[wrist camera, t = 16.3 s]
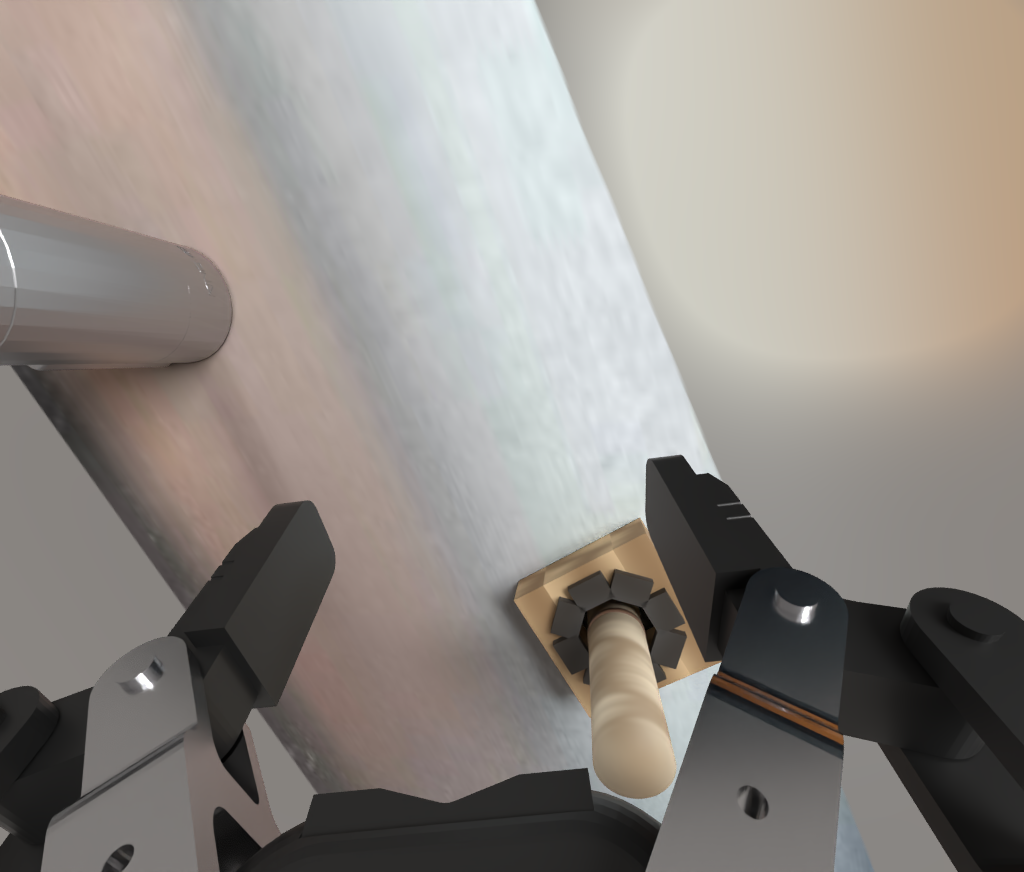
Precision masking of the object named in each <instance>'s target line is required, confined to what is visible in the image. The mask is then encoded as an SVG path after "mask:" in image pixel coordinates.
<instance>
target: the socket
mask: <svg viewBox="0 0 1024 872" xmlns="http://www.w3.org/2000/svg"><path fill="white" fill-rule="evenodd" d="M610 599H614V600H618V601H622V602H625V603H629V604H632V605H636V606H640V607H642V608H643V610H644V611H645V613H646V614H647V616H648V618H649V619H650V621H651V622H652V624H653V626H654V627H653V628H650V629H648V630H646V631H645V633H646V640H647V644H648V649H649V653H650V657H651V661H652V665H653V669H654V673H655V678H656V682H657V686H658V689H659V688H661V687H664V686H666V685H668V684H671V683H673V682H675V681H678V680H680V679H682V678H685V677H687V676H689V675H692V674H694V673H696V672H699V671H701V670H703V669H706V668H708V667H710V666H713V665H715V664H717V663H720V662H722V661H714V662H705V661H704V659H703V657H702V654H701V652H700V650H699V647H698V645H697V643H696V641H695V638H694V636H693V634H692V631H691V629H690V627H689V625H688V622H687V620H686V618H685V615H684V613H683V611H682V608H681V606H680V604H679V602H678V599H677V597H676V595H675V592H674V590H673V588H672V586H671V583H670V581H669V579H668V576H667V574H666V572H665V570H664V567H663V565H662V563H661V560H660V558H659V556H658V553H657V551H656V549H655V547H654V544H653V542H652V540H651V537H650V534H649V532H648V530H647V528H646V527H645V525H644V523H643V522H642V520H641V519H640V518H639V519H637V520H635V521H633V522H631V523H629V524H627V525H625V526H623V527H621V528H619V529H617V530H616V531H614V532H612V533H610V534H608V535H606V536H604V537H602V538H600V539H598V540H596V541H594V542H593V543H591V544H589V545H587V546H585V547H583V548H581V549H579V550H577V551H575V552H573V553H572V554H570V555H568V556H566V557H564V558H562V559H560V560H558V561H556V562H554V563H552V564H550V565H549V566H547V567H545V568H543V569H541V570H539V571H537V572H535V573H533V574H531V575H529V576H527V577H526V578H524V579H522V580H520V581H519V583H518V586H517V590H516V594H515V598H514V602H515V603H516V605H517V606H518V608H519V609H520V611H521V613H522V614H523V616H524V617H525V619H526V620H527V622H528V623H529V625H530V626H531V628H532V629H533V631H534V633H535V634H536V636H537V637H538V639H539V640H540V642H541V643H542V645H543V646H544V648H545V649H546V651H547V653H548V654H549V656H550V657H551V659H552V660H553V662H554V663H555V665H556V666H557V668H558V669H559V671H560V673H561V674H562V676H563V677H564V679H565V680H566V682H567V683H568V685H569V686H570V688H571V689H572V691H573V693H574V694H575V696H576V697H577V699H578V700H579V702H580V703H581V705H582V706H583V708H584V709H585V711H586V713H587V714H588V716H589V717H590V718H591V700H590V673H589V645H588V637H587V630H586V628H585V627H584V625H583V624H582V622H583V618H584V615H585V612H586V611H588V610H590V609H592V608H594V607H596V606H598V605H600V604H602V603H604V602H606V601H608V600H610Z"/></svg>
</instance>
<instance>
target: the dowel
mask: <svg viewBox="0 0 1024 872" xmlns="http://www.w3.org/2000/svg"><path fill="white" fill-rule="evenodd" d="M587 618H588V629H587V637H588V645H589V673H590V700H591V727H592V755H593V766H594V770H595V773H596V775H597V777H598V778H599V780H600V781H601V782H602V783H603V784H604V785H605V786H606V787H607V788H608V789H610V790H611V791H613V792H615V793H616V794H619V795H621V796H624V797H628V798H635V799H643V798H649V797H653V796H656V795H658V794H660V793H661V792H663V791H664V790H666V789H667V788H668V787H669V786H670V784H671V783H672V781H673V779H674V777H675V774H676V761H675V756H674V752H673V748H672V744H671V740H670V736H669V732H668V727H667V723H666V719H665V715H664V711H663V707H662V703H661V698H660V694H659V690H658V686H657V682H656V678H655V673H654V669H653V665H652V661H651V657H650V653H649V649H648V644H647V640H646V633H645V629H644V626H643V624H642V620H641V615H640V611H639V607H638V606H636V605H632V604H629V603H625V602H622V601H618V600H614V599H610V600H608V601H606V602H604V603H602V604H600V605H598V606H596V607H594V608H592V609H590V610H588V611H587Z"/></svg>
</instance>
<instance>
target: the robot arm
mask: <svg viewBox="0 0 1024 872" xmlns="http://www.w3.org/2000/svg"><path fill="white" fill-rule="evenodd" d="M231 318H232V305H231V298H230V293H229V290H228V287H227V284H226V282H225V280H224V278H223V277H222V275H221V273H220V271H219V270H218V269H217V268H216V266H215V265H214V264H213V263H212V262H211V261H210V260H209V259H208V258H207V257H205V256H204V255H203V254H201V253H200V252H198V251H196V250H194V249H192V248H189V247H185V246H182V245H178V244H175V243H171V242H168V241H164V240H161V239H157V238H154V237H150V236H147V235H143V234H140V233H137V232H133V231H130V230H126V229H123V228H119V227H115V226H112V225H108V224H105V223H101V222H98V221H94V220H90V219H87V218H83V217H80V216H76V215H72V214H69V213H65V212H62V211H58V210H55V209H51V208H47V207H44V206H40V205H37V204H33V203H30V202H26V201H22V200H19V199H15V198H12V197H8V196H5V195H1V194H0V365H28V366H29V367H31V368H33V369H35V370H77V369H114V368H151V367H167V366H169V365H170V364H171V363H190V362H196V361H201V360H203V359H205V358H208V357H209V356H211V355H212V354H213V353H215V352H216V351H217V350H218V349H219V347H220V346H221V345H222V344H223V342H224V341H225V338H226V336H227V334H228V332H229V328H230V324H231ZM645 513H646V522H647V527H648V531H649V534H650V537H651V540H652V542H653V544H654V547H655V549H656V551H657V553H658V556H659V558H660V560H661V563H662V565H663V567H664V570H665V572H666V574H667V576H668V579H669V581H670V583H671V586H672V588H673V590H674V592H675V595H676V597H677V599H678V602H679V604H680V606H681V608H682V611H683V613H684V615H685V618H686V620H687V622H688V625H689V627H690V629H691V631H692V634H693V636H694V638H695V641H696V643H697V645H698V647H699V650H700V652H701V654H702V657H703V659H704V661H705V662H714V661H722V662H721V665H720V668H719V671H718V673H717V675H716V674H714V675H713V677H712V679H711V681H710V683H709V686H708V689H707V692H706V694H705V697H704V700H703V703H702V706H701V709H700V712H699V715H698V718H697V721H696V724H695V727H694V730H693V733H692V736H691V739H690V742H689V745H688V748H687V751H686V753H685V756H684V759H683V762H682V765H681V768H680V771H679V774H678V777H677V780H676V783H675V786H674V789H673V792H672V795H671V798H670V801H669V804H668V807H667V809H666V812H665V815H664V818H663V821H662V824H661V823H660V822H658V821H657V820H655V819H654V818H652V817H651V816H650V815H648V814H647V813H645V812H644V811H643V810H641V809H639V808H637V807H635V806H634V805H632V804H630V803H628V802H626V801H624V800H622V799H619V798H617V797H614V796H611V795H609V794H606V793H602V792H597V791H593V790H591V786H590V780H589V773H588V768H582V769H572V770H562V771H552V772H542V773H531V774H521V775H517V776H515V777H512V778H510V779H507V780H505V781H503V782H500V783H498V784H495V785H493V786H490V787H488V788H486V789H483V790H481V791H478V792H476V793H473V794H471V795H469V796H466V797H464V798H461V799H459V800H456V801H454V802H450V803H439V802H435V801H431V800H427V799H423V798H418V797H414V796H410V795H406V794H402V793H397V792H393V791H389V790H385V789H381V788H378V789H367V790H357V791H347V792H337V793H326V794H316V795H314V796H313V799H312V802H311V805H310V809H309V812H308V815H307V818H306V821H305V822H303V823H301V824H299V825H297V826H295V827H294V828H292V829H290V830H288V831H286V832H285V833H283V834H281V833H280V831H279V829H278V827H277V825H276V823H275V821H274V818H273V815H272V813H271V809H270V806H269V802H268V798H267V794H266V790H265V786H264V782H263V778H262V775H261V770H260V766H259V763H258V759H257V755H256V751H255V747H254V743H253V739H252V735H251V731H250V729H249V727H248V726H247V725H246V723H245V722H246V719H247V718H248V715H249V713H250V711H251V709H253V708H263V707H272V706H277V704H278V702H279V699H280V697H281V695H282V692H283V690H284V688H285V685H286V683H287V681H288V678H289V676H290V674H291V672H292V669H293V667H294V665H295V662H296V660H297V658H298V655H299V653H300V651H301V648H302V646H303V644H304V641H305V639H306V637H307V634H308V632H309V630H310V627H311V625H312V623H313V620H314V618H315V616H316V613H317V611H318V609H319V606H320V604H321V602H322V599H323V597H324V595H325V592H326V590H327V588H328V585H329V583H330V581H331V578H332V576H333V573H334V570H335V552H334V548H333V546H332V543H331V541H330V539H329V536H328V534H327V532H326V530H325V527H324V525H323V523H322V520H321V518H320V516H319V513H318V511H317V509H316V507H315V505H314V504H313V503H312V502H311V501H300V502H292V503H284V504H277V505H275V506H274V507H273V508H272V509H271V510H270V512H269V513H268V514H267V516H266V517H265V519H264V520H263V521H262V523H261V524H260V526H259V527H258V528H255V529H253V530H252V531H251V532H250V533H248V534H247V535H246V536H245V537H244V538H242V539H241V540H240V541H239V542H238V543H236V544H235V545H234V547H233V548H232V549H231V551H230V552H229V554H228V555H227V556H226V558H225V559H224V560H223V562H222V565H221V566H219V567H218V568H217V570H216V571H215V572H214V574H213V575H212V576H211V581H208V582H207V583H206V585H205V586H204V587H203V589H202V590H201V591H200V593H199V594H198V595H197V597H196V598H195V599H194V601H193V602H192V603H191V605H190V606H189V607H188V609H187V610H186V611H185V613H184V614H183V616H182V617H181V618H180V620H179V621H178V622H177V624H176V625H175V627H174V628H173V629H172V630H171V632H170V633H169V635H168V636H167V637H161V638H157V639H154V640H151V641H149V642H146V643H144V644H142V645H140V646H138V647H136V648H135V649H133V650H131V651H130V652H128V653H127V654H125V655H124V656H122V657H121V658H120V659H119V660H117V661H116V662H115V663H114V664H113V665H112V666H110V668H108V669H107V670H106V671H105V673H104V674H103V675H102V676H101V677H100V679H99V680H98V681H97V683H96V684H95V686H94V687H91V688H89V689H86V690H83V691H81V692H78V693H75V694H72V695H70V696H67V697H64V698H61V699H59V700H56V701H53V702H50V701H49V700H48V699H47V698H46V697H45V696H44V695H43V694H42V693H41V692H40V691H39V690H38V689H36V688H34V687H31V686H22V687H17V688H13V689H10V690H7V691H4V692H2V693H0V827H2V828H3V829H5V830H6V831H8V832H9V833H10V834H9V835H8V837H7V838H6V839H5V841H4V842H3V844H2V845H1V846H0V872H834V862H835V851H836V839H837V827H838V815H839V804H840V792H841V780H842V768H843V756H844V737H843V735H847V736H851V737H856V738H860V739H864V740H869V741H873V742H877V743H878V744H879V746H880V748H881V749H882V751H883V752H884V754H885V756H886V757H887V759H888V760H889V762H890V764H891V765H892V767H893V768H894V770H895V772H896V773H897V775H898V777H899V778H900V780H901V781H902V783H903V784H904V786H905V788H906V789H907V791H908V793H909V794H910V796H911V797H912V799H913V801H914V802H915V804H916V805H917V807H918V808H919V810H920V812H921V813H922V815H923V816H924V818H925V820H926V821H927V823H928V825H929V826H930V828H931V829H932V831H933V833H934V834H935V836H936V838H937V839H938V841H939V842H940V844H941V845H942V847H943V849H944V850H945V852H946V853H947V855H948V857H949V858H950V860H951V862H952V863H953V865H954V866H955V868H956V870H957V871H958V872H1024V621H1023V620H1022V619H1021V618H1019V617H1018V616H1017V615H1015V614H1014V613H1012V612H1011V611H1009V610H1008V609H1006V608H1004V607H1003V606H1001V605H999V604H997V603H995V602H993V601H991V600H989V599H986V598H984V597H981V596H978V595H976V594H973V593H969V592H966V591H962V590H957V589H952V588H927V589H924V590H921V591H919V592H917V593H915V594H914V596H913V597H912V598H911V600H910V603H909V605H908V607H907V609H903V608H897V607H890V606H883V605H876V604H869V603H862V602H856V601H850V600H846V599H842V597H841V596H840V595H839V594H838V592H836V591H835V590H834V589H833V588H832V587H831V586H830V585H828V584H827V583H826V582H824V581H822V580H821V579H819V578H818V577H815V576H813V575H811V574H809V573H806V572H803V571H800V570H796V569H793V568H792V567H791V566H790V564H789V563H788V562H787V561H786V559H785V558H784V557H783V555H782V554H781V553H780V552H779V550H778V549H777V548H776V547H775V546H774V544H773V543H772V541H771V540H770V539H769V537H768V536H767V535H766V534H765V532H764V531H763V530H762V528H761V527H760V526H759V525H758V523H757V522H756V521H755V519H754V518H751V516H750V513H749V512H748V510H747V509H746V508H745V506H744V505H743V504H741V503H740V500H739V499H738V498H737V496H736V495H735V494H734V492H733V491H732V490H731V488H730V487H729V486H728V485H727V484H725V483H724V482H722V481H720V480H719V479H717V478H715V477H714V476H712V475H711V474H709V473H706V474H698V475H696V474H695V472H694V471H693V469H692V468H691V467H690V465H689V464H688V462H687V461H686V459H685V458H684V457H683V456H682V455H675V456H667V457H659V458H651V459H648V460H647V464H646V506H645Z"/></svg>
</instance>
